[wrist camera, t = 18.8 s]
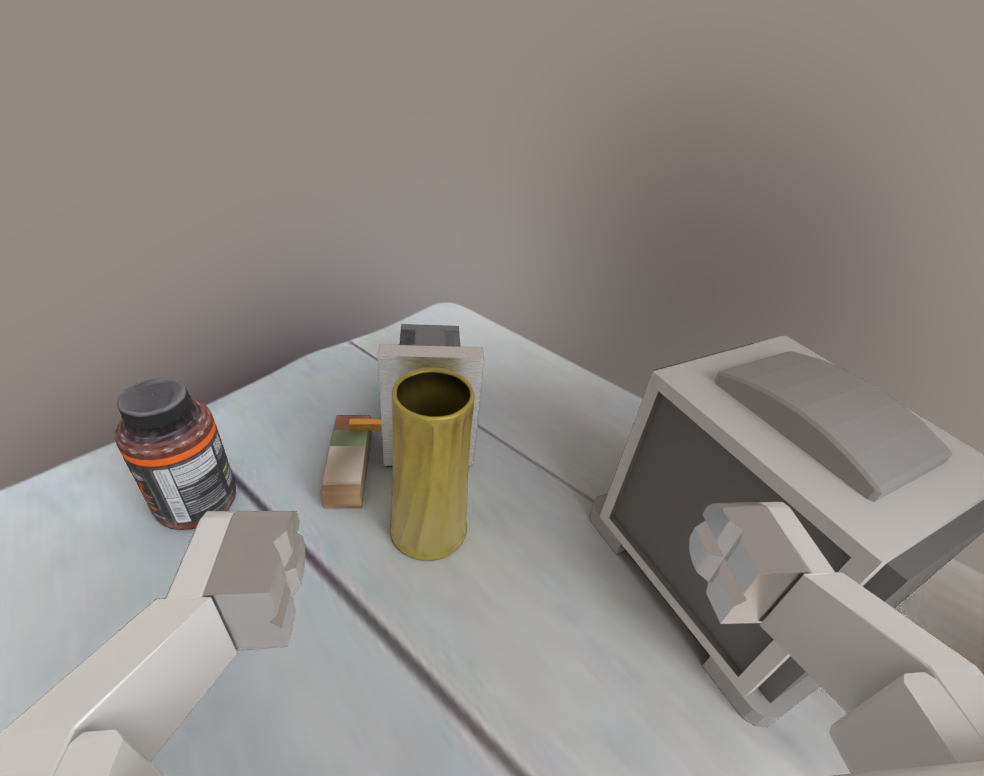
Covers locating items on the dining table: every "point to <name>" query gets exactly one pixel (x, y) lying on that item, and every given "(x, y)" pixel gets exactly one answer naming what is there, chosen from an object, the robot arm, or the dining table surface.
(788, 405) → the grey box
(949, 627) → the dining table surface
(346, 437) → the rail
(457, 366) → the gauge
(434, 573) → the dining table surface
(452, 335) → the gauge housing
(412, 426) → the vase
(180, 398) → the supplement bottle
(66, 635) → the dining table surface
